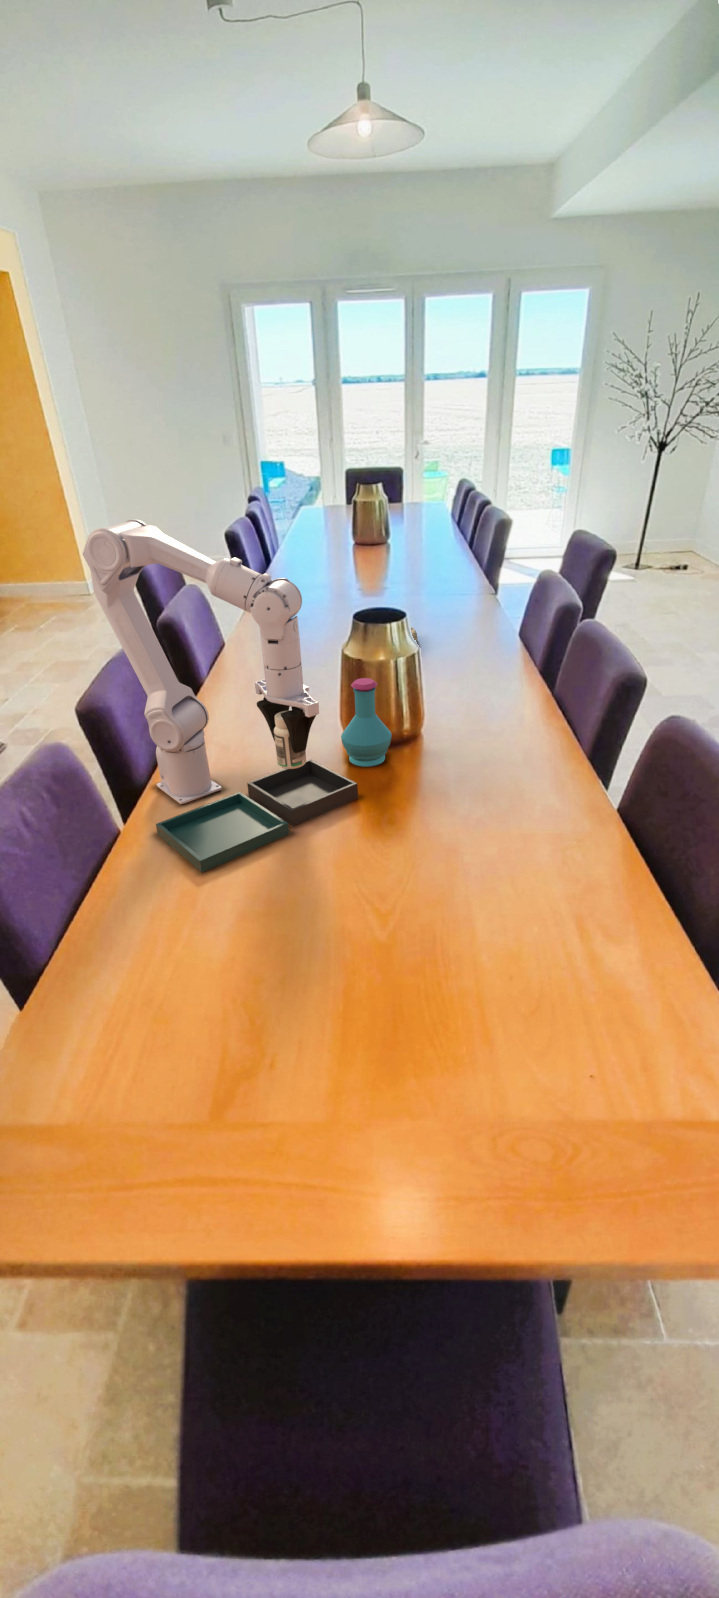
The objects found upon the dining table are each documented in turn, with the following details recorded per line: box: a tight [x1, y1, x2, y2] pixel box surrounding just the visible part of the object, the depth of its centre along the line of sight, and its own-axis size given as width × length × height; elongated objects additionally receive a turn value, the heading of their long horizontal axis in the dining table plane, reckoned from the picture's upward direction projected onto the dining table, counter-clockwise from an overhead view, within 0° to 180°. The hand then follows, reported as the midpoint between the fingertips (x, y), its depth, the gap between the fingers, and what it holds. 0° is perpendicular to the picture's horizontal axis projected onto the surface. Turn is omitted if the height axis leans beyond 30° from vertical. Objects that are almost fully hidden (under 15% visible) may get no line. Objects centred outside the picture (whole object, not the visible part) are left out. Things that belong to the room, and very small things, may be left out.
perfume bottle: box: [340, 677, 392, 768], centre depth 130 cm, size 9×9×15 cm
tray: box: [155, 791, 290, 873], centre depth 111 cm, size 14×15×2 cm
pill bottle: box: [274, 711, 307, 769], centre depth 115 cm, size 5×5×8 cm
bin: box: [246, 758, 359, 827], centre depth 120 cm, size 13×13×3 cm
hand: (290, 746), depth 115 cm, fingers closed on pill bottle, 5 cm apart
